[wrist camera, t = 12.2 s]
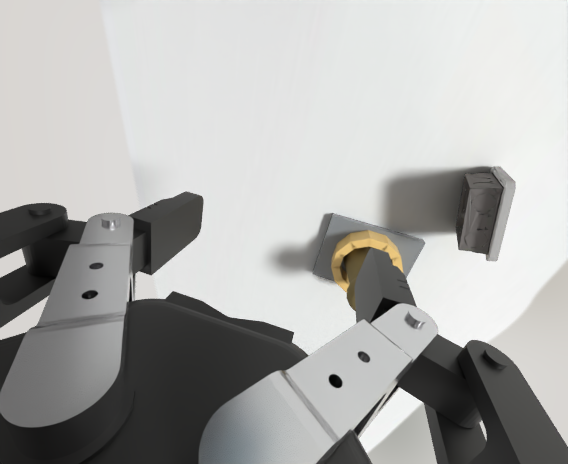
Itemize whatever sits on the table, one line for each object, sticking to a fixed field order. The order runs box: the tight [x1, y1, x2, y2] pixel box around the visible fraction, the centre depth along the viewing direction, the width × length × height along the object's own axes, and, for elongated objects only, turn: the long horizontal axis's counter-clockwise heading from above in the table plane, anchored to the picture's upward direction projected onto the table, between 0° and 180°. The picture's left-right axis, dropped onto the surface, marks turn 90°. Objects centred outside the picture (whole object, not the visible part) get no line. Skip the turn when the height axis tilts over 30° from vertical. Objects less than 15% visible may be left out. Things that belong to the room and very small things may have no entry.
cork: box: [344, 246, 379, 311], centre depth 36 cm, size 6×6×11 cm
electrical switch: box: [456, 167, 516, 261], centre depth 32 cm, size 9×5×9 cm, turn 5°
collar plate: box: [313, 213, 425, 292], centre depth 40 cm, size 11×14×4 cm
